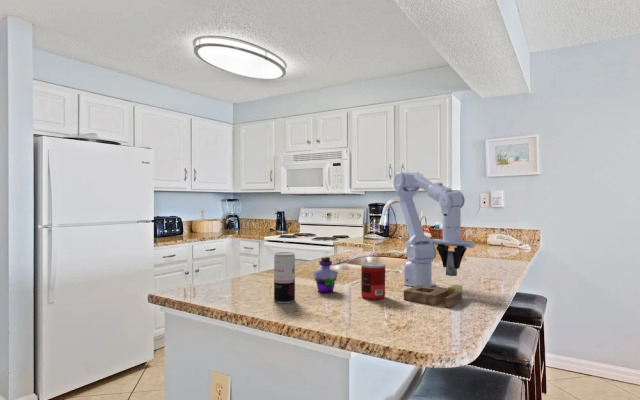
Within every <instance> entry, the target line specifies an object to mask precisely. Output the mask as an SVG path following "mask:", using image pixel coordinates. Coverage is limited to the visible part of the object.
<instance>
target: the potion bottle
mask: <svg viewBox="0 0 640 400" xmlns="http://www.w3.org/2000/svg"><path fill="white" fill-rule="evenodd" d="M320 259H321V260H319V264H318V265H319V266H321V269H317V270H314V271H313V272H312V273H313V277H314V281H315V283H316V287H317V292H318V293H319V294H324V295H325V294H332V293H334V289H335V284H336V282H335V281H337V278H338V274H339V273H338V271H336V270H335V269H331V266H332V265H333V260H331V257H329V256H323V257H321V258H320Z"/></svg>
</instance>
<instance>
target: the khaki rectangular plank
mask: <svg viewBox="0 0 640 400" xmlns="http://www.w3.org/2000/svg"><path fill="white" fill-rule="evenodd" d="M447 290H448V296H449V295H451V294H454V293H456V292H462V293H463V285H461V284H453V285H451V286H448V287H447Z"/></svg>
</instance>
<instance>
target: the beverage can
mask: <svg viewBox="0 0 640 400" xmlns="http://www.w3.org/2000/svg"><path fill="white" fill-rule="evenodd" d="M273 262H274V263H273V265H274V266H273V300H274V302H276V303H278V304H288V303H290V304H291V303H293V302H294V301H295V300H296V255H295V252H289V251H283V252H282V251H281V252H275V253H274V256H273Z"/></svg>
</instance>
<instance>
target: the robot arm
mask: <svg viewBox="0 0 640 400" xmlns="http://www.w3.org/2000/svg"><path fill="white" fill-rule="evenodd" d="M392 183H393V186H394V190H395V194H396V195H397V199H398V200H397V201H398V203H399V205H400V209H401V212H402V216H403V219H404V221H405V222H404V223H405V224H406V225H405V226H406V228H407V232H408V235H409V238H408V240H407V242H406V243H405V247H406V255H407V258H408V259H409V260H407V261H406V262H405V263H404V264H405V266H404V283H403V285H404V286H410V287H415V286H417V285H419V286H426V287H432V288H433V287H434V286H437V284H436V283H434V282H432V275H433V274H432V272H433V271H432V267H433V266H432V265H433V264H432V263H433V262H434V260H435V258H436V257H437V252H438V254H439V256H440V259H441V263H442V267H443V268H446V251H449V247H454V248H453V251H455V269H457V270H459V269H460V267H461V263H462V261H463V260H462V259H463V257H464V255H465V253H466V251H467V248H469V249H474V248H475V241H472V240H471V241H470V240H469V241H468V240H461V222H462V221H461V220H462V219H461V218H462V217H461V215H462V214H461V211H462V208H463V206H464V205H465V201H466V200H465V196H464V194H463V193H461V191H453V190H452V188H451V187H446V186H445V185H444V183H443V182H440V181H439V182H434V183H433V182H431V181H430V180H429V179H427V178H426V177H424V175H423V174H422V173H420V172H403V171H398V172H397V173H396V174H395V176H394V178H393V182H392ZM420 189H422V190H424V191H426V192H427V195H428V197H430V198H431V199H433V200H434V201H436V202H437V203H439V207H440V211H441V214H442V238H430V237H429V236H427V235H425V233H424V230H423V227H422V223H421V221H420V218H419V214H418V211H417V209H416V205H415V202H414V199H413V197H415V196H417V193H418V192H419V190H420Z"/></svg>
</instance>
